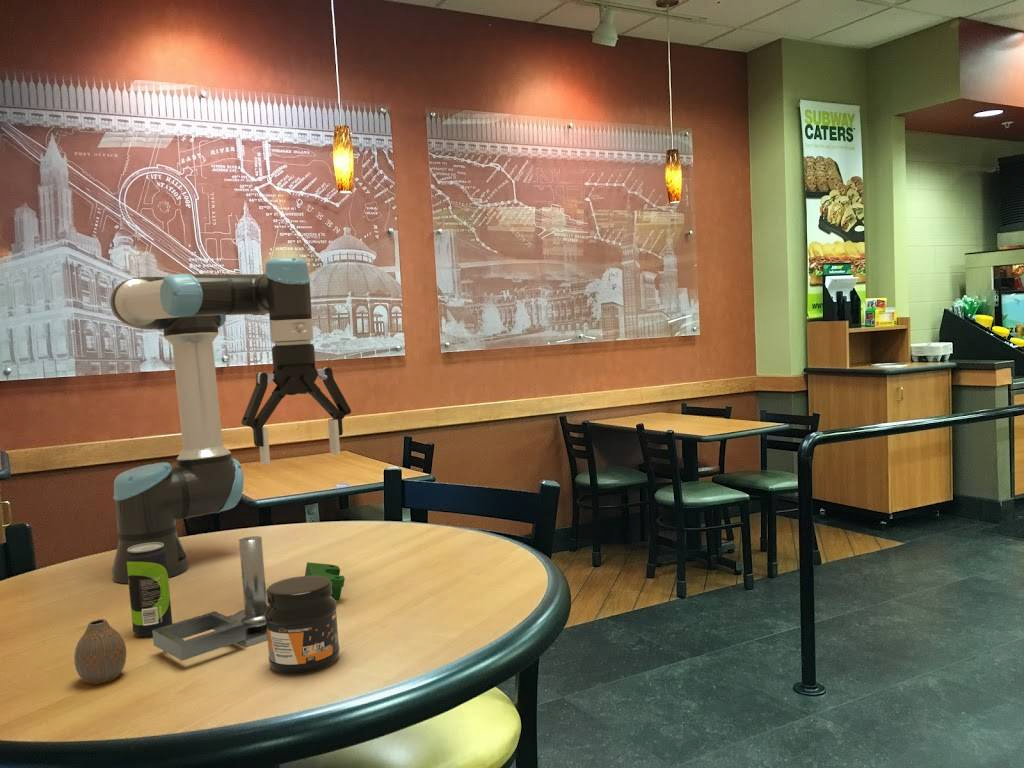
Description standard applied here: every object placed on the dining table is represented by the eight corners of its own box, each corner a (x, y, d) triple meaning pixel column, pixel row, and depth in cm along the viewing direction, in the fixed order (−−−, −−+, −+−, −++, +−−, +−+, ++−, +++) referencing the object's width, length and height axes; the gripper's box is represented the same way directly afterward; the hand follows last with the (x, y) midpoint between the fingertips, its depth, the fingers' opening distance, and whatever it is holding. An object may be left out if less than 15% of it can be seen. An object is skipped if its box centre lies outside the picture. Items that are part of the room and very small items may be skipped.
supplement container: (273, 683, 116) (267, 601, 116) (265, 657, 126) (258, 581, 125) (347, 667, 120) (341, 587, 120) (333, 643, 130) (327, 570, 129)
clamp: (335, 625, 151) (346, 586, 148) (303, 623, 149) (313, 583, 146) (333, 584, 161) (342, 546, 158) (302, 581, 159) (311, 543, 156)
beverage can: (180, 626, 142) (173, 542, 141) (154, 639, 137) (146, 552, 136) (152, 624, 144) (144, 541, 143) (125, 637, 139) (117, 550, 138)
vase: (88, 671, 125) (83, 615, 124) (135, 667, 125) (130, 611, 125) (68, 691, 118) (62, 632, 117) (117, 686, 118) (111, 627, 118)
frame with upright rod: (154, 654, 130) (145, 556, 129) (266, 618, 144) (259, 529, 143) (182, 670, 123) (173, 566, 122) (297, 630, 137) (290, 537, 136)
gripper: (231, 347, 138) (241, 471, 139) (363, 339, 153) (371, 451, 155) (217, 348, 144) (226, 466, 145) (345, 340, 159) (353, 447, 161)
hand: (301, 458), depth 150 cm, fingers open, 13 cm apart
